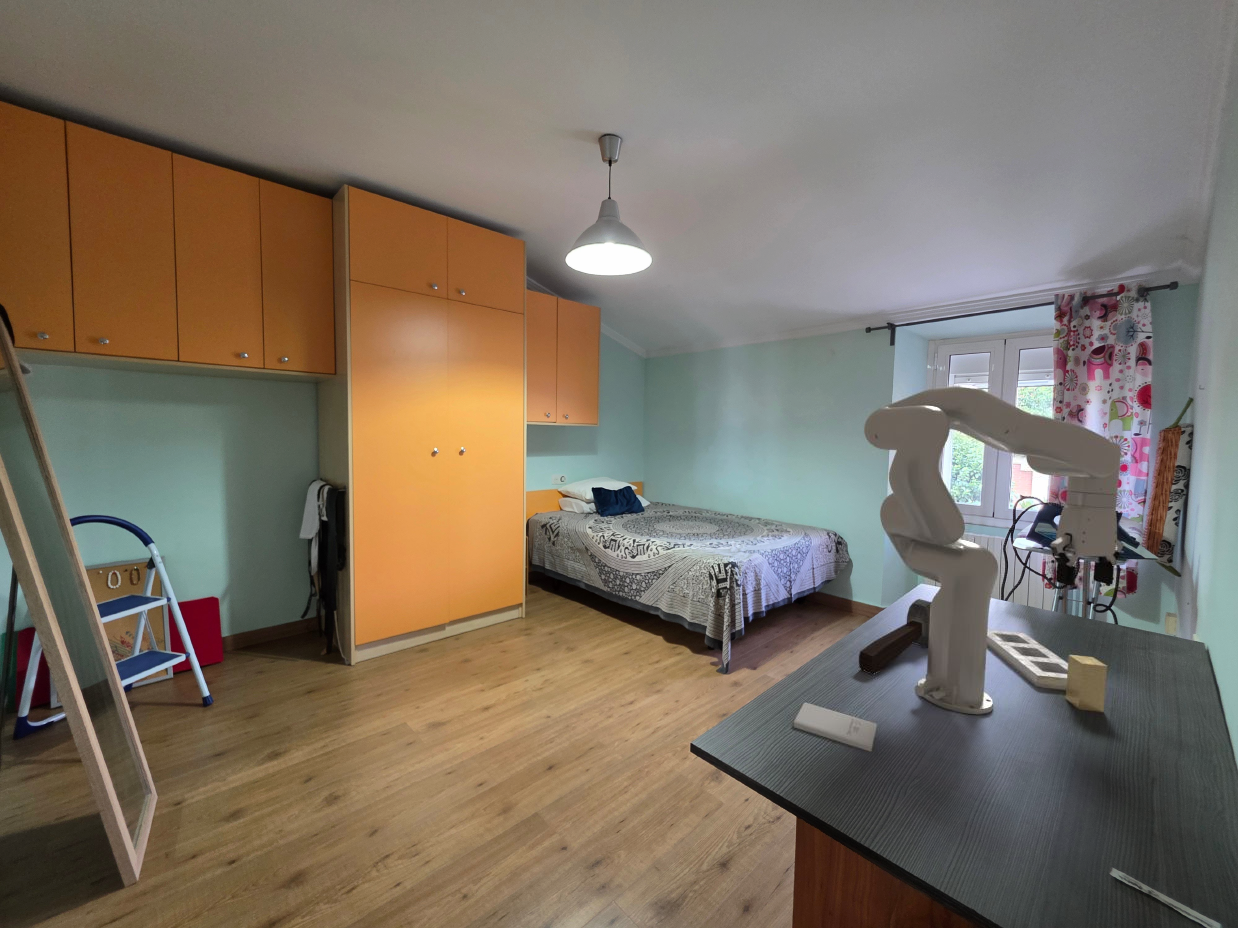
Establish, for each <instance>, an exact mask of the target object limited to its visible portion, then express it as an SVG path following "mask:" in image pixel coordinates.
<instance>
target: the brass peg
mask: <svg viewBox="0 0 1238 928" xmlns="http://www.w3.org/2000/svg"><path fill="white" fill-rule="evenodd" d="M1067 659H1068V661H1067V663H1068V672H1067V686H1066V690H1065V700H1067V701H1068V702H1069V703H1070V704H1071V705H1073V706H1074V707H1076V708H1077V709H1078V710H1083V711H1092V712H1099V713H1104V710H1105V700H1106V699H1105V698H1106V686H1107V685H1106V684H1107V672H1108V671H1107V670H1108V665H1106V664H1105V663H1102V662H1101V661H1100V660H1098V659H1096V658H1095V657H1093V656H1084V655H1074V654H1068V658H1067Z"/></svg>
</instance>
